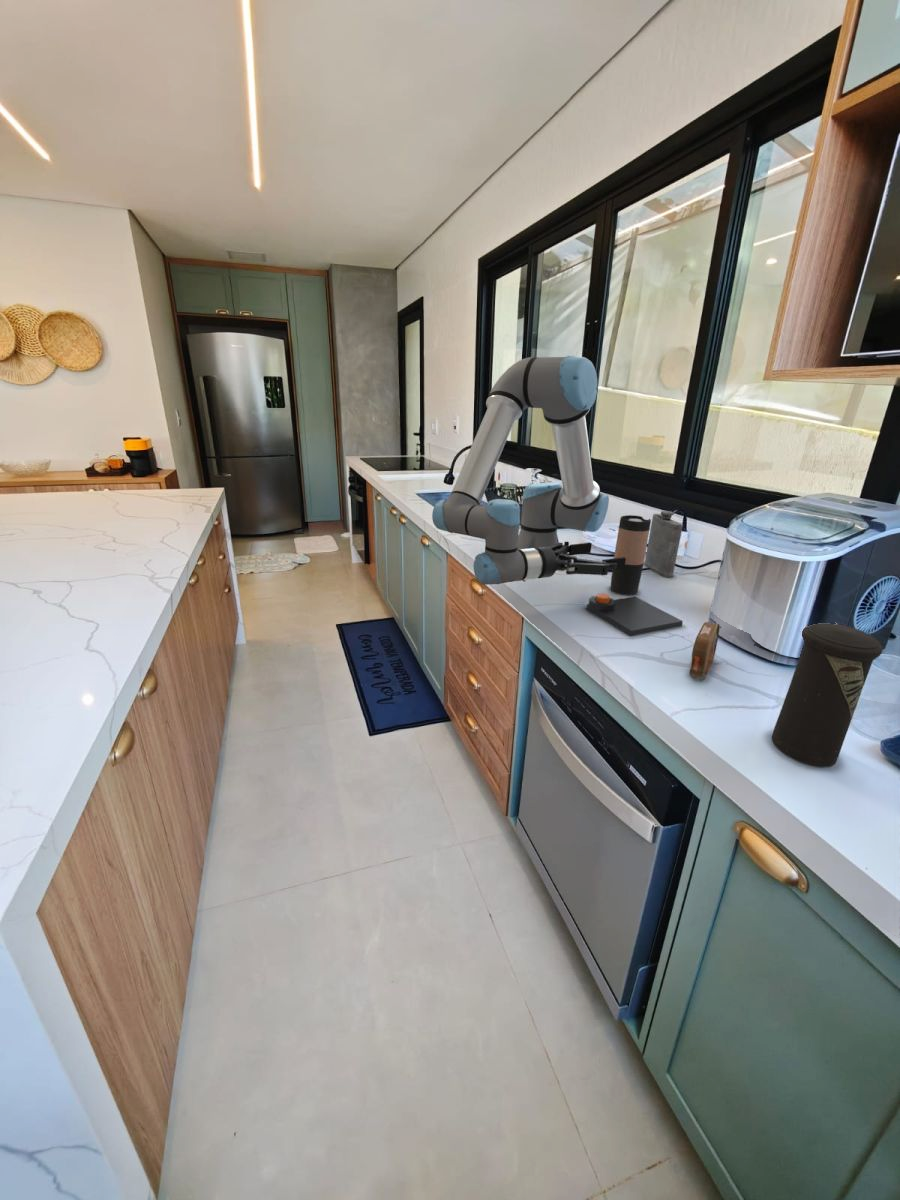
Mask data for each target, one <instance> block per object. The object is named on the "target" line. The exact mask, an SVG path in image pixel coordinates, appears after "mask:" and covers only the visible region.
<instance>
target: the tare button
mask: <svg viewBox="0 0 900 1200" xmlns="http://www.w3.org/2000/svg"><path fill="white" fill-rule="evenodd" d="M595 596H596V602H599V603H605V604H606V603H609V601H610V598H611V596H610V595H609V594H607V593H597V594H596V595H595Z"/></svg>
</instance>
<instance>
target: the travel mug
mask: <svg viewBox="0 0 900 1200" xmlns="http://www.w3.org/2000/svg"><path fill="white" fill-rule="evenodd" d="M651 524H652V519H651V518H649V519H645V518H644V517H643V516H641V515H635V514H634V515H632V514H630V515H629V514H628V515H622V516H620V519H619V524H618V529H617V530H618V531H617V535H616V536H617V537H616V543H615V550H614V555H613V558H622V557H625V558H626V561H625V567H624V569H617V570H611V579H610V587H609V588H610V591H611V592H612V593H614V594H618V595H621V596H635V595H637V593H638V592H639V588H640V582H641V577H642V573H643V568H644V564H645V558H646V553H647V547H648V541H649V536H650V530H651Z"/></svg>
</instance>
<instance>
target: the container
mask: <svg viewBox="0 0 900 1200" xmlns="http://www.w3.org/2000/svg"><path fill="white" fill-rule="evenodd" d="M802 637H803V640H804V645H803V648H802V651H801V654H800V657H799V659H797V664H796V666H795V669H794V672H793V675H792V678H791V681H790V683H789V687H788V689H787V691H786V692H787V693H786V695H785V698H784V701H783V703H782V705H781V709H780V711H779V713H778V714H779V715H778V717H777V719H776V723H775V725H774V728H773V731H772V734H771V741H772V743H773V745H774V747H775V748H776V749H777V750H779V751H780V752H781V753H782V754H784V755H786V756H787V757H789V758H791V759H792V760H795V761H796V762H800V763H802V764H805V765H808V766H812V767H817V768H827V767H828V768H829V767H833V766H834V765H835V764H836V763H837V761H838V758H839V756H840V753H841V750H842V747H843V745H844V742H845V739H846V737H847V733H848V731H849V728H850V725H851V722H852V719H853V717H854V713H855V711H856V709H857V705H858V702H859V700H860V697H861V694H862V691H863V690H864V686H865V683H866V681H867V678H868V675H869V673H870V670H871V668H872V664H873V662H874V661H875V660H876V659H877V658H879V657H880V656H881V655H882V653H883V646H882V644H881V642H879V640H878V639H877V638H875V637H874V636H872V635H871V634H869V633H868V632H865V631H862V630H860V629H857V628H854V627H851V626H847V625H843V624H839V623H836V624H830V623H818V624H813V625H810V626H807V627H805V628H804V629H803V631H802Z"/></svg>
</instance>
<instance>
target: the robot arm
mask: <svg viewBox="0 0 900 1200" xmlns="http://www.w3.org/2000/svg"><path fill="white" fill-rule="evenodd" d="M597 375H598V374H597V371H596V368H595V366H594V364H593V362H592V361H591V360H589V359H588V358H587V357H585V356H575V355H566V356H540V357H539V356H538V357H537V356H530V357H526V358H525V357H524V358H522V359H520V360H518V361H516V362H515V363H513V364H512V365H511V366H510V367H508V368H507V369H506V370H504V372H503V373H502V374H501V376H499V378H498V379H497V381H496V382H495V383H494V385H493V386H492V388H491V389H490V391H489V394H488V396H487V398H486V401H485V406H486V408H487V409H486V411H485V413H484V415H483V418H482V420H481V423H480V425H479V428H478V430H477V432H476V435H475V436H474V439H473V441H472V443H471V446H470V449H469V451H468V453H467V456H466V458H465V461H464V462H463V465H462V467H461V470H460V472H459V475H458V476H457V479H456V482H455V483H454V486H453V488H452V491H451V493H450V495H449V497H448V499H447V498H446V499H440V500H438V501H437V502H436V503H435V504H434V506H433V509H432V514H431V519H432V523H433V525H434V526H435V528H436V529H438V530H441V531H443V532H447V533H450V534H456V535H457V534H458V535H463V536H468V537H473V538H476V539H481V540H485V541H484V543H485V544H484V545H485V546H484V552H481V553H478V554H477V555H476V556H475V557H474V561H473V574H474V576H475V578H476V580H477V581H478V583H480V584H481V585H486V586H487V585H500V584H505V583H506V584H507V583H513V582H520V581H521V582H524V583H525V582H526V581H529V580H536V579H544V578H545V579H546V578H550V577H553V575H555V574H556V572H557V571H561V572H564V571H565V574H566V575H590V576H591V575H593V576H608V572H609V571H612V570H617V569H624V567H625V561H626V558H625V557H622V558H614V557H613V558H607V559H602V560H593V559H585V558H578V557H577V556H576V555H585V554H591V552H592V545H593V543H592V542H581V543H573V544H570V541H564V544H563V542H560V541H559V536H558V527H559V528H564V529H570V530H575V531H581V532H584V533H585V532H590V533H595V532H597V531H599V530H600V528H601V527H602V525H603V523H604V521H605V518H606V516H607V513H608V508H609V503H610V498H609V495H608V494H606V493H601V489H600V485H599V484H598V483H597V482H596V481H595V480H594V476H593V468H592V459H591V452H590V445H589V443H590V442H589V435H588V429H587V421H586V416H587V414H589V412H590V410H591V408H592V407H593V405H594V404H595V402H596V399H597V394H598V390H597V388H598V376H597ZM528 408H531V409H542V415H543V419H544V420H545V422H547V423H548V424H550V425H551V429H552V430H551V431H552V435H553V441H554V445H555V451H556V457H557V462H558V467H559V473H560V479H561V482H557V481H547V482H536V483H531V484H528V485H526V486H525V487H524V489H523V494H522V499H521V500H522V505H521V507H522V508H521V507H520V504H519V503H518V502H517V501H515V500H511V499H503V498H498V499H490V500H489V501H488V502H487V504H486V505H487V506H486V505H485V506H484V505H480V504H481V502H482V500H483V497H484V495H485V492H486V490H487V488H488V486H489V483H490V481H491V478H492V476H493V473H494V471H495V469H496V466H497V464H498V461H499V459H500V457H501V455H502V452H503V450H504V447H505V445H506V443H507V440H508V438H509V436H510V433H511V431H512V429H513V426H514V423H515V422H516V421H518V420H520V419H521V417H522V415H523V413H524V411H525V410H527V409H528ZM520 513H521V515H520ZM520 517H521V520H520ZM572 561H573V562H572Z"/></svg>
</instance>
